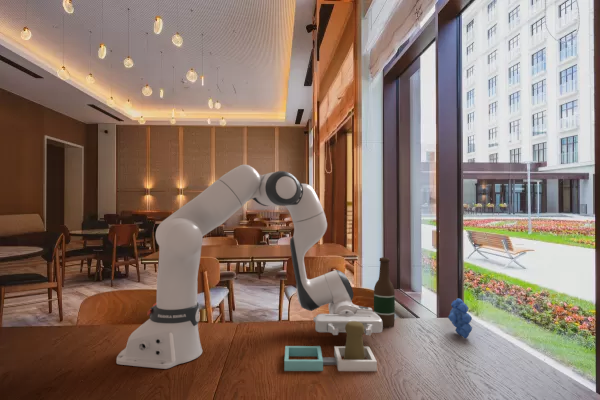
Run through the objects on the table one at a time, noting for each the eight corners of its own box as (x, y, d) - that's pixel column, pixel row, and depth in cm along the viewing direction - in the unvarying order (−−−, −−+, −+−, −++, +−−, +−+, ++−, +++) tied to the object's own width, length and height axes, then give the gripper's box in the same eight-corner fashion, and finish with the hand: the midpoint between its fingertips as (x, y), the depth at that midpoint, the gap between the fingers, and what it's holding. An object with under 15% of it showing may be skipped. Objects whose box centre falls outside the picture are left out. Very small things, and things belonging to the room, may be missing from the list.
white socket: (322, 371, 94) (323, 361, 94) (320, 355, 104) (320, 346, 104) (376, 371, 94) (376, 361, 94) (368, 355, 104) (368, 346, 104)
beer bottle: (397, 323, 133) (398, 257, 133) (391, 329, 126) (391, 260, 126) (377, 319, 137) (377, 255, 137) (369, 325, 130) (370, 258, 131)
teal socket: (284, 370, 94) (284, 361, 94) (285, 354, 104) (285, 346, 104) (322, 371, 94) (323, 361, 94) (320, 355, 104) (320, 346, 104)
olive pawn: (365, 368, 96) (365, 326, 96) (342, 366, 97) (342, 325, 97) (365, 359, 102) (366, 319, 102) (344, 357, 103) (344, 318, 103)
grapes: (440, 329, 126) (440, 295, 127) (459, 329, 127) (459, 295, 127) (456, 342, 115) (456, 304, 115) (477, 342, 115) (477, 304, 115)
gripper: (313, 307, 117) (315, 321, 103) (376, 307, 117) (387, 321, 103) (312, 326, 117) (315, 343, 103) (376, 327, 117) (387, 343, 103)
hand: (352, 332), depth 103 cm, fingers open, 8 cm apart
